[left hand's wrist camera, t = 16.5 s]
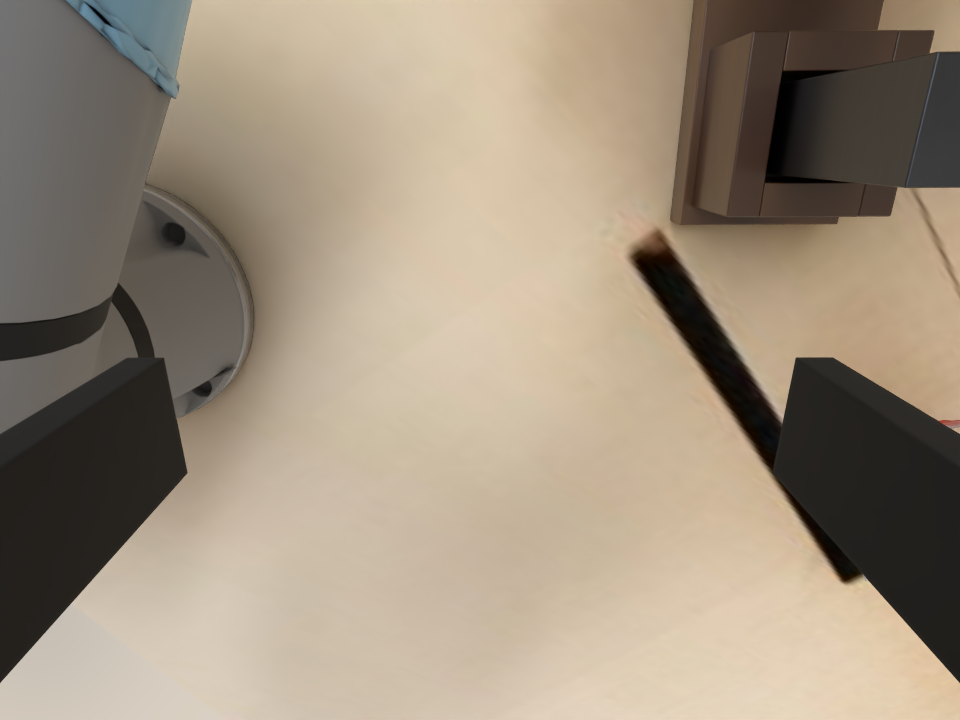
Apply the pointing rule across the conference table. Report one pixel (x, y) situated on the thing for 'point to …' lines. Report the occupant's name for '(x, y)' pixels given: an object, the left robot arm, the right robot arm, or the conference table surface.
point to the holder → (771, 107)
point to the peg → (873, 124)
